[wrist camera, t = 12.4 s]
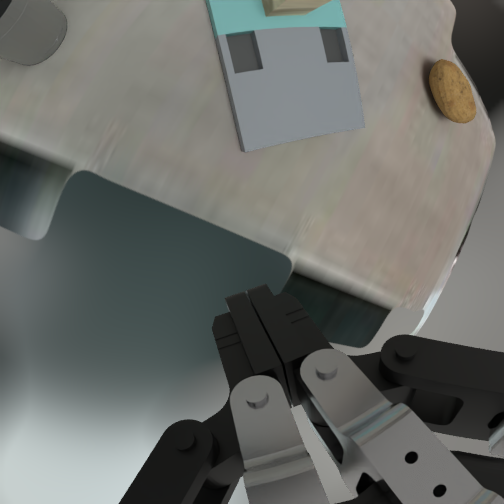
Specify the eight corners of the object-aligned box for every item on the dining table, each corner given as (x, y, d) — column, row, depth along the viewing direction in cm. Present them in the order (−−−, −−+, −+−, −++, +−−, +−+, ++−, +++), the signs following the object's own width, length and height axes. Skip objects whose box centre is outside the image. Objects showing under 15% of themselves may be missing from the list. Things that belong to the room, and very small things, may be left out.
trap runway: (357, 126, 43) (365, 127, 42) (241, 150, 40) (245, 152, 39) (327, -16, 31) (333, -20, 29) (202, -12, 28) (204, -18, 26)
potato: (432, 51, 40) (462, 50, 33) (458, 106, 47) (486, 110, 40) (410, 71, 41) (441, 71, 34) (438, 129, 48) (468, 136, 41)
